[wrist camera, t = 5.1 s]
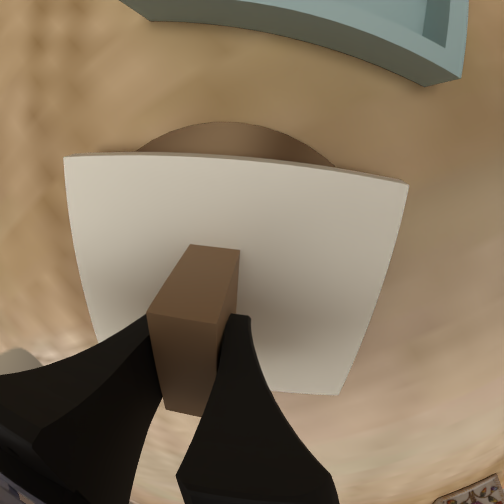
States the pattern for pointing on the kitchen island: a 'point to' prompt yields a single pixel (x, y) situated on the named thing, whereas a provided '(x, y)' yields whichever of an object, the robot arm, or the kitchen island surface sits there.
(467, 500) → the decorative jar
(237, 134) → the trivet
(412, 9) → the blue-grey open tray
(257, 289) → the lid
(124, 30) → the kitchen island surface
